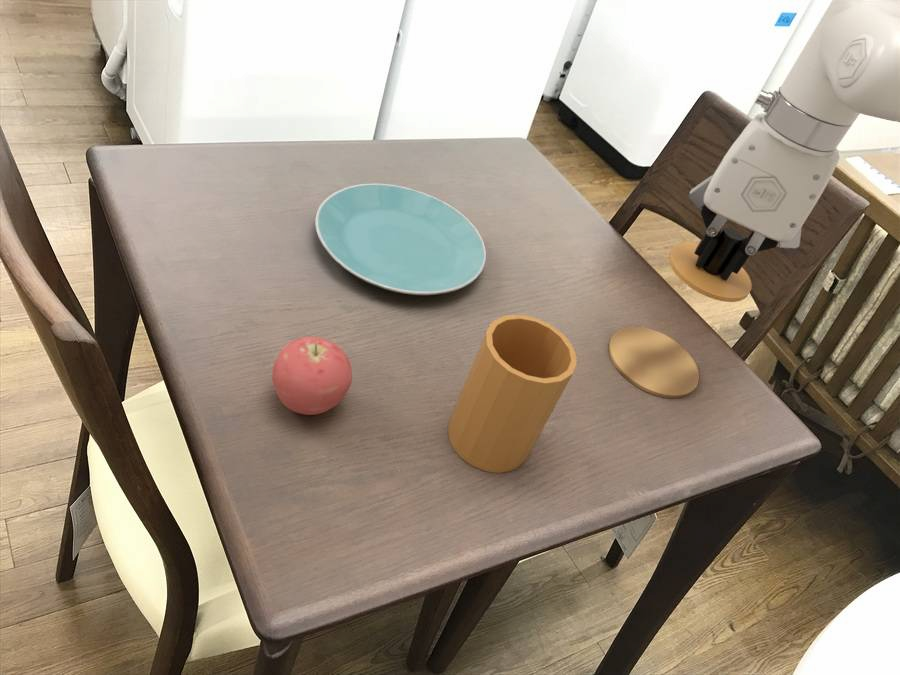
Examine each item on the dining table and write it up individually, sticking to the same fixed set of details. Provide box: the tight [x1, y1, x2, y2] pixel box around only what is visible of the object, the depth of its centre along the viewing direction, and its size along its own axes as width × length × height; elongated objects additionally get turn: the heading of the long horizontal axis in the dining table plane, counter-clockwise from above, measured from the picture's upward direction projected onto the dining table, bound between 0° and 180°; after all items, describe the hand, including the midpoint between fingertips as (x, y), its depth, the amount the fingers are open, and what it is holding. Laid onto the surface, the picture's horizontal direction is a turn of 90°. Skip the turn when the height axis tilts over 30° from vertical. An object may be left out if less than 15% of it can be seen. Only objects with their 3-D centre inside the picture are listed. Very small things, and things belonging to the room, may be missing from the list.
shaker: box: [447, 314, 578, 474], centre depth 75 cm, size 9×9×14 cm
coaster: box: [607, 326, 700, 399], centre depth 96 cm, size 12×12×1 cm
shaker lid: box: [668, 227, 753, 303], centre depth 86 cm, size 10×10×6 cm
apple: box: [271, 336, 353, 416], centre depth 74 cm, size 7×7×8 cm
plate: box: [314, 182, 487, 296], centre depth 98 cm, size 22×22×3 cm
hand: (712, 266), depth 87 cm, fingers closed on shaker lid, 2 cm apart
